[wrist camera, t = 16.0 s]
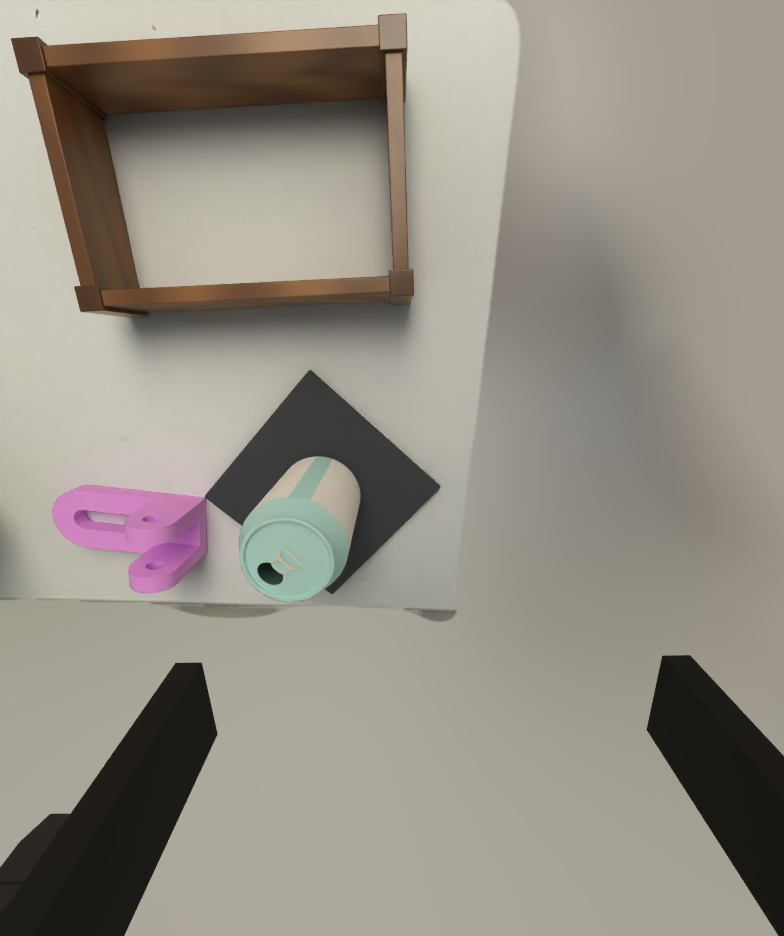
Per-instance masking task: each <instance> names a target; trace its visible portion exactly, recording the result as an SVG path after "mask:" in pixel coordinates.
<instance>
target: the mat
mask: <svg viewBox="0 0 784 936" xmlns="http://www.w3.org/2000/svg"><path fill="white" fill-rule="evenodd" d="M316 456H320V457H327V458H331V459H334V460H336V461H338V462H340V463H342V464H343V465H345V466H346V467H347V468H348V469H349V470H350V471H351V472H352V473H353V475H354V476H355V478H356V480H357V482H358V485H359V488H360V504H359V509H358V513H357V518H356V522H355V526H354V531H353V535H352V540H351V544H350V549H349V553H348V558H347V562H346V565H345V567H344V569H343V571H342V573H341V574H340V575H339V577H338V578H337V579H336V580H335V581H334V582H333V583H332V584H331V585H330V586H328V587H327V588H325V589H326V590H327V591H328V592H329V593H331V594H333V593H334V592H335V591H336V590H337V589H338V588H339V587H340V586H341V585H342V584H343V583H344V582H345V581H346V580H347V579H348V578H349V577H350V576H351V575H352V574H353V573H354V572H355V571H356V570H357V569H358V568H359V567H360V566H361V565H362V564H363V563H364V562H365V561H366V560H368V559H369V558H370V557H371V556H372V555H373V554H374V553H375V552H376V551H377V550H378V549H379V548H380V547H381V546H382V545H383V544H384V543H385V542H386V541H387V540H388V539H389V538H390V537H391V536H392V535H393V534H394V533H395V532H396V531H397V530H398V529H399V528H400V527H401V526H402V525H403V524H404V523H405V522H406V521H407V520H408V519H409V518H410V517H411V516H412V515H413V514H414V513H415V512H416V511H417V510H418V509H419V508H420V507H421V506H422V505H423V504H424V503H425V502H426V501H427V500H428V499H429V498H430V497H431V496H432V495H433V494H434V493H435V492H436V491H437V490H438V489H439V488H440V485H439V484H437V483H436V482H435V481H434V480H433V479H432V478H431V477H430V476H429V475H427V474H426V473H425V472H424V471H423V470H422V469H421V468H420V467H418V466H417V465H416V464H415V463H414V462H413V461H412V460H411V459H410V458H408V457H407V456H406V455H405V454H404V453H403V452H402V451H401V450H399V449H398V448H397V447H396V446H395V445H394V444H393V443H392V442H391V441H389V440H388V439H387V438H386V437H385V436H384V435H383V434H382V433H380V432H379V431H378V430H377V429H376V428H375V427H374V426H373V425H372V424H370V423H369V422H368V421H367V420H366V419H365V418H364V417H363V416H361V415H360V414H359V413H358V412H357V411H356V410H355V409H354V408H352V407H351V406H350V405H349V404H348V403H347V402H346V401H345V400H344V399H342V398H341V397H340V396H339V395H338V394H337V393H336V392H335V391H333V390H332V389H331V388H330V387H329V386H328V385H327V384H326V383H325V382H323V381H322V380H321V379H320V378H319V377H318V376H317V375H316V374H314V373H313V372H312V371H311V370H310V371H308V372H307V374H306V375H305V376H304V377H303V378H302V380H301V381H300V382H299V383H298V384H297V386H296V387H295V388H294V389H293V390H292V392H291V393H290V394H289V395H288V396H287V398H286V399H285V400H284V401H283V402H282V404H281V405H280V406H279V407H278V409H277V410H276V411H275V412H274V413H273V415H272V416H271V417H270V418H269V419H268V421H267V422H266V423H265V424H264V425H263V427H262V428H261V429H260V430H259V431H258V433H257V434H256V435H255V436H254V437H253V439H252V440H251V441H250V442H249V443H248V445H247V446H246V447H245V448H244V449H243V451H242V452H241V453H240V454H239V456H238V457H237V458H236V459H235V460H234V462H233V463H232V464H231V465H230V466H229V468H228V469H227V470H226V471H225V472H224V474H223V475H222V476H221V477H220V478H219V480H218V481H217V482H216V483H215V484H214V486H213V487H212V488H211V489H210V490H209V492H208V493H207V494H206V495H205V498H207V499H208V500H209V501H211V502H212V503H213V504H214V505H216V506H217V507H218V508H220V509H221V510H222V511H224V512H225V513H226V514H228V515H229V516H230V517H231V518H233V519H234V520H235V521H237V522H238V523H239V524H241V525H243V523H244V521H245V520H246V518H247V517H248V516H249V514H250V513H251V512H252V511H253V510H254V508H255V507H256V506H257V505H258V504H259V503H260V502H261V500H262V499H263V498H264V497H265V496H266V495H267V493H268V492H269V491H270V490H271V489H272V488H273V487H274V485H275V484H276V483H277V482H278V481H279V480H280V478H281V477H282V476H283V475H284V474H285V473H286V472H287V470H288V469H289V468H290V467H291V466H292V465H294V464H295V463H297V462H298V461H300V460H302V459H305V458H309V457H316Z"/></svg>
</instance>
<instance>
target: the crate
mask: <svg viewBox="0 0 784 936" xmlns="http://www.w3.org/2000/svg"><path fill="white" fill-rule="evenodd" d="M11 41H12V45H13V49H14V53H15V56H16V60H17V64H18V68H19V72H20V73H21V74H22V75H24V76H25V77H26V78H28V79H29V81H30V85H31V89H32V93H33V97H34V101H35V105H36V109H37V113H38V117H39V121H40V125H41V129H42V133H43V137H44V141H45V145H46V149H47V153H48V157H49V161H50V165H51V169H52V173H53V177H54V181H55V185H56V189H57V193H58V197H59V201H60V205H61V209H62V213H63V217H64V221H65V225H66V229H67V233H68V237H69V241H70V245H71V249H72V253H73V257H74V261H75V265H76V269H77V273H78V277H79V281H80V285H81V286H75V287H74V288H75V292H76V296H77V300H78V304H79V308H80V311H81V312H87V313H96V314H105V315H114V316H123V317H145V316H148V312H165V311H185V310H206V309H226V308H247V307H267V306H288V305H308V304H329V303H349V302H370V301H391V304H410V303H411V301H412V298H413V295H414V281H413V270H412V269H408V235H407V200H406V166H405V132H404V102H405V96H406V71H407V15H406V13H404V14H389V15H378V25H369V26H353V27H337V28H321V29H305V30H289V31H273V32H257V33H241V34H225V35H210V36H194V37H178V38H162V39H146V40H130V41H114V42H98V43H82V44H66V45H51V46H48V45H47V44H46V43H45V42H43V41H42V40H41V39H40V38H39V37H25V38H11ZM375 98H382V103H387V126H388V151H389V177H390V202H391V227H392V253H393V270H390V271H389V276H379V277H359V278H339V279H319V280H299V281H279V282H259V283H239V284H219V285H199V286H179V287H159V288H139V286H138V282H137V277H136V272H135V267H134V263H133V258H132V253H131V248H130V244H129V239H128V234H127V230H126V225H125V220H124V215H123V211H122V206H121V201H120V196H119V192H118V187H117V182H116V177H115V173H114V168H113V163H112V159H111V154H110V149H109V144H108V140H107V135H106V130H105V125H104V121H103V120H107V114H121V113H138V112H155V111H172V110H189V109H206V108H223V107H240V106H257V105H274V104H290V103H307V102H324V101H341V100H358V99H375Z"/></svg>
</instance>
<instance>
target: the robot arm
mask: <svg viewBox="0 0 784 936" xmlns="http://www.w3.org/2000/svg"><path fill="white" fill-rule="evenodd" d="M647 731H648V732H649V734H650V735H651V737H652V739H653V740H654V742H655V744H656V745H657V747H658V748H659V750H660V751H661V752H662V754H663V756H664V758H665V759H666V761H667V762H668V764H669V765H670V767H671V769H672V770H673V772H674V773H675V774H676V776H677V778H678V779H679V781H680V783H681V784H682V786H683V787H684V789H685V790H686V792H687V793H688V795H689V797H690V798H691V800H692V801H693V803H694V804H695V806H696V808H697V809H698V811H699V812H700V814H701V815H702V817H703V819H704V820H705V822H706V823H707V825H708V826H709V828H710V829H711V831H712V832H713V834H714V836H715V837H716V839H717V840H718V842H719V843H720V845H721V847H722V848H723V850H724V851H725V853H726V854H727V856H728V857H729V859H730V861H731V862H732V864H733V865H734V867H735V869H736V870H737V872H738V873H739V875H740V876H741V878H742V879H743V881H744V883H745V884H746V886H747V887H748V889H749V890H750V892H751V894H752V895H753V897H754V898H755V900H756V901H757V903H758V904H759V906H760V908H761V909H762V911H763V912H764V914H765V915H766V917H767V918H768V920H769V922H770V923H771V925H772V926H773V928H774V929H775V931H776V932H777V934H778V936H784V756H783V755H782V754H781V753H780V752H779V750H778V749H777V748H776V747H775V746H774V745H773V744H772V743H771V742H770V741H769V740H768V739H767V738H766V737H765V736H764V734H763V733H762V732H761V731H760V730H759V729H758V728H757V727H756V726H755V725H754V724H753V722H752V721H751V720H750V719H749V718H748V717H747V716H746V715H745V714H744V713H743V712H742V711H741V710H740V709H739V708H738V706H737V705H736V704H735V703H734V702H733V701H732V700H731V699H730V698H729V697H728V696H727V695H726V694H725V692H724V691H723V690H722V689H721V688H720V687H719V686H718V685H717V684H716V683H715V682H714V681H713V680H712V678H711V677H710V676H709V675H708V674H707V673H706V672H705V671H704V670H703V669H702V668H701V667H700V666H699V665H698V663H697V662H696V661H695V660H694V659H693V658H692V657H691V656H689V655H684V656H683V655H682V656H662V660H661V665H660V669H659V674H658V679H657V684H656V688H655V693H654V698H653V702H652V707H651V712H650V717H649V721H648V726H647ZM216 736H217V730H216V725H215V721H214V717H213V712H212V707H211V703H210V698H209V693H208V689H207V684H206V680H205V675H204V671H203V666H202V663H175V665H174V666H173V668H172V669H171V671H170V672H169V673H168V675H167V676H166V678H165V679H164V680H163V682H162V683H161V685H160V686H159V688H158V689H157V691H156V692H155V693H154V695H153V696H152V698H151V699H150V701H149V702H148V704H147V705H146V706H145V708H144V709H143V711H142V712H141V714H140V715H139V717H138V718H137V719H136V721H135V722H134V724H133V725H132V727H131V728H130V729H129V731H128V732H127V734H126V735H125V737H124V738H123V740H122V741H121V742H120V744H119V745H118V747H117V748H116V749H115V751H114V752H113V754H112V755H111V757H110V758H109V759H108V761H107V762H106V764H105V765H104V767H103V768H102V770H101V771H100V773H99V774H98V775H97V777H96V778H95V780H94V781H93V783H92V784H91V785H90V787H89V788H88V790H87V791H86V793H85V794H84V795H83V797H82V798H81V800H80V801H79V803H78V804H77V805H76V807H75V808H74V810H73V811H72V813H71V814H50V815H49V816H48V817H46V819H44V820H43V821H42V822H41V823H40V824H39V825H38V826H37V827H36V828H34V829H33V830H32V831H31V832H30V833H29V834H28V835H27V836H26V837H25V838H24V839H23V840H21V842H19V844H18V845H17V846H16V847H15V849H14V850H13V851H12V853H11V854H10V855H9V857H8V858H7V859H6V861H5V862H4V863H3V865H2V866H1V867H0V936H124V935H125V933H126V931H127V928H128V926H129V924H130V922H131V920H132V918H133V915H134V913H135V911H136V909H137V907H138V904H139V902H140V900H141V898H142V896H143V894H144V892H145V890H146V887H147V885H148V883H149V881H150V879H151V877H152V875H153V872H154V870H155V868H156V866H157V864H158V862H159V859H160V857H161V855H162V853H163V851H164V849H165V846H166V844H167V842H168V840H169V838H170V836H171V833H172V831H173V829H174V827H175V825H176V823H177V820H178V818H179V816H180V814H181V812H182V810H183V807H184V805H185V803H186V801H187V799H188V797H189V795H190V792H191V790H192V788H193V786H194V784H195V782H196V779H197V777H198V775H199V773H200V771H201V769H202V767H203V764H204V762H205V760H206V758H207V756H208V754H209V751H210V749H211V747H212V745H213V743H214V741H215V738H216Z"/></svg>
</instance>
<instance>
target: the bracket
mask: <svg viewBox="0 0 784 936" xmlns="http://www.w3.org/2000/svg"><path fill="white" fill-rule="evenodd" d="M85 510H88V511H97V512H106V513H115V514H124V515H129V516H128V517H127V518H126V519H125V521H124V523H125V526H124V525H115V524H106V523H97V522H93V521H91V520H90V519H89V518H88V517H87V516H86V512H85ZM52 512H53V520H54V523H55V525H56V527H57V529H58V530H59V531H60V533H61V534H62V535H63V536H64V537H65V538H67V539H68V540H69V541H71V542H73V543H75V544H77V545H79V546H83V547H89V548H98V549H108V550H117V551H126V552H135V553H144V554H143V555H141V556H140V557H139V558H138V559H137V560H135V561H134V562H133V563H132V564H131V565H130V566H129V569H128V571H129V583H130V588H131V589H132V590H134V591H136V592H139V593H157V592H161V591H165V590H167V589H170V588H172V587H174V586H175V585H176V584H178V583H179V582H180V581H181V580H182V578H183V577H184V576H185V575H186V574H187V573H188V572H189V571H190V570H191V569H192V568H193V566H194V565H195V564H196V563H197V562H198V561H199V560H200V559H201V558H202V557H203V556H204V555H205V553H206V552H207V537H206V498H202V497H193V496H184V495H175V494H166V493H157V492H149V491H140V490H131V489H122V488H113V487H104V486H95V485H83V486H80V487H77V488H75V489H72V490H70V491H68V492H66V493H64V494H62V495H61V496H59V497H58V498H57V500H56V501H55V503H54V506H53V511H52Z"/></svg>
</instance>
